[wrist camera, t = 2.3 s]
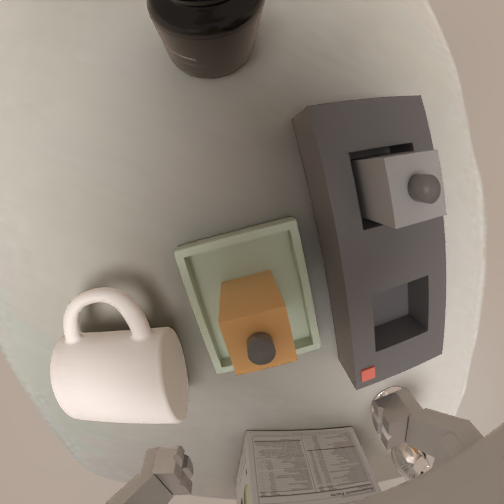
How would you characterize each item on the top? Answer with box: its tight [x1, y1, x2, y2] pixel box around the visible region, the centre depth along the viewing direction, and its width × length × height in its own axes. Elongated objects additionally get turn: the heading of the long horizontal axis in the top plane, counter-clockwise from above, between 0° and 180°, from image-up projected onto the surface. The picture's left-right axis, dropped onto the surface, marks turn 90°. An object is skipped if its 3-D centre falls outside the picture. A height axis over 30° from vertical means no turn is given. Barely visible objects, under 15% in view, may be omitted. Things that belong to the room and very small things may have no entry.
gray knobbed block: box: [350, 150, 446, 229], centre depth 18 cm, size 4×4×8 cm
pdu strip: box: [292, 95, 446, 390], centre depth 22 cm, size 22×9×5 cm, turn 14°
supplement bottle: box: [147, 0, 265, 78], centre depth 14 cm, size 7×7×12 cm
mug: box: [50, 287, 189, 423], centre depth 21 cm, size 12×10×8 cm
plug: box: [218, 270, 298, 375], centre depth 20 cm, size 4×4×8 cm
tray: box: [173, 216, 321, 374], centre depth 24 cm, size 11×9×2 cm
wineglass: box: [371, 386, 435, 481], centre depth 24 cm, size 6×6×12 cm
